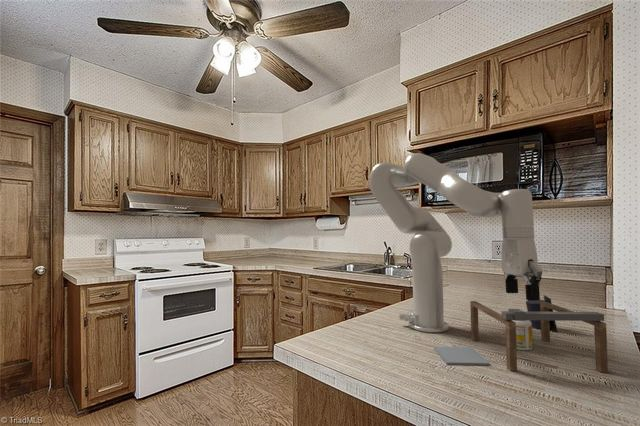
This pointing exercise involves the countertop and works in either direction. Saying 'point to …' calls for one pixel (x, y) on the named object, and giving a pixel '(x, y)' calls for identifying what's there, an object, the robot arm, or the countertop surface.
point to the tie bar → (551, 315)
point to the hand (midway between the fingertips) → (522, 296)
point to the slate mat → (460, 356)
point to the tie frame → (511, 348)
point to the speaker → (535, 307)
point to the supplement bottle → (523, 335)
